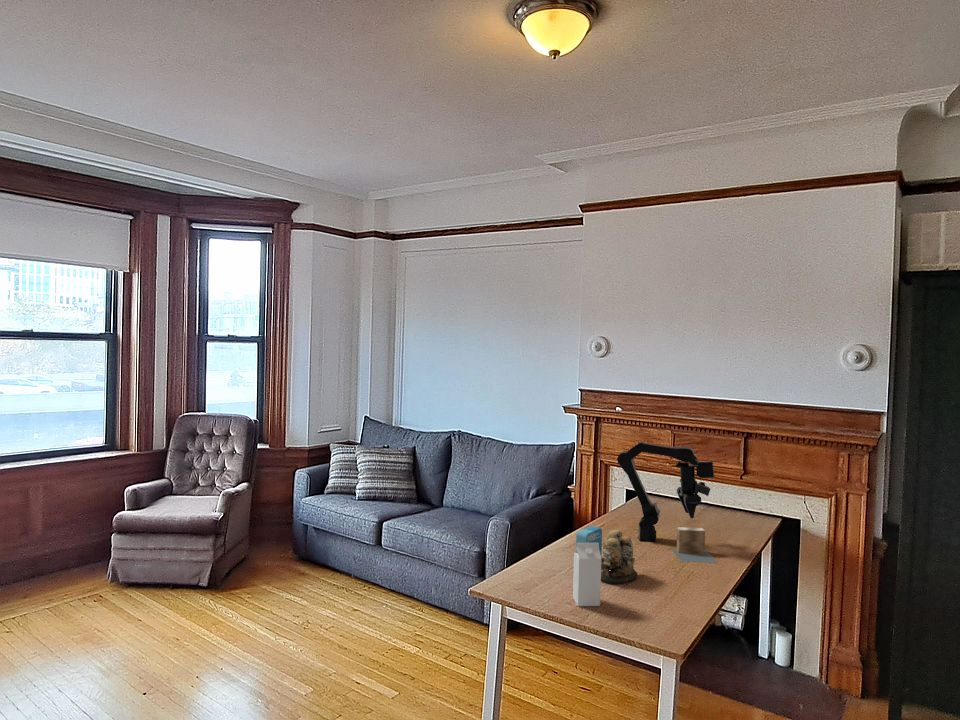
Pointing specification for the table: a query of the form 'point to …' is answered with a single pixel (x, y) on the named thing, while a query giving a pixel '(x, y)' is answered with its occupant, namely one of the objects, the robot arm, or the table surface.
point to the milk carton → (587, 574)
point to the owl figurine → (618, 559)
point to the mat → (694, 557)
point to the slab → (690, 540)
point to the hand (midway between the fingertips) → (689, 515)
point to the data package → (590, 536)
